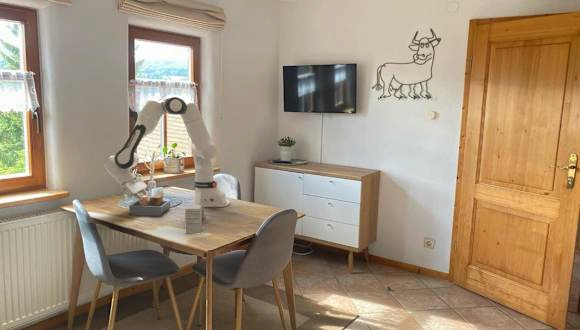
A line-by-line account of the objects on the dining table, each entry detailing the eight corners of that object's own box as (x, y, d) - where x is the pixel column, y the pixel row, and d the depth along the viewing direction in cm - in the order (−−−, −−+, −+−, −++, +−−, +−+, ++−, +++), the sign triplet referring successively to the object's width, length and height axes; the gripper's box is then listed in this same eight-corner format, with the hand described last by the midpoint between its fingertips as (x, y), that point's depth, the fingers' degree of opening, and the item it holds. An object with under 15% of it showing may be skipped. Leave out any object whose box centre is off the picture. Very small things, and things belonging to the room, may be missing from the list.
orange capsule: (150, 208, 254) (149, 195, 252) (146, 211, 249) (146, 197, 247) (141, 208, 254) (141, 194, 252) (138, 210, 249) (137, 197, 247)
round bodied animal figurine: (181, 220, 236) (180, 205, 234) (199, 216, 244) (199, 201, 243) (189, 223, 231) (188, 208, 230) (207, 219, 240) (207, 204, 238)
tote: (169, 209, 258) (169, 200, 257) (161, 215, 244) (161, 207, 243) (139, 207, 259) (139, 199, 258) (129, 214, 245) (129, 205, 244)
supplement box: (187, 229, 222) (186, 204, 220) (202, 229, 223) (202, 204, 221) (185, 233, 215) (184, 208, 213) (200, 233, 215) (200, 208, 213)
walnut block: (162, 209, 253) (161, 195, 252) (159, 211, 248) (158, 197, 247) (153, 209, 254) (153, 195, 252) (150, 211, 249) (149, 197, 247)
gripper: (123, 180, 239) (141, 198, 240) (138, 173, 259) (155, 190, 260) (115, 188, 240) (133, 206, 241) (131, 180, 260) (148, 197, 261)
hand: (145, 198), depth 250 cm, fingers open, 6 cm apart
